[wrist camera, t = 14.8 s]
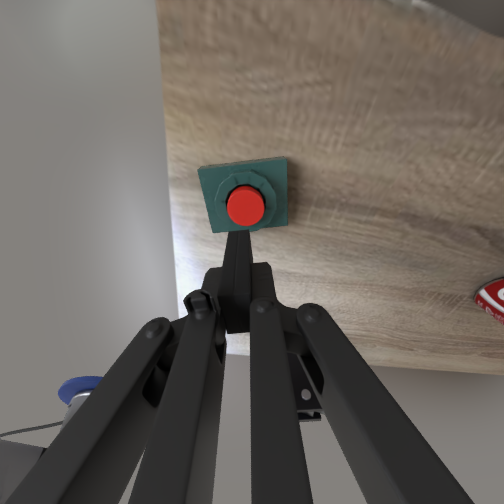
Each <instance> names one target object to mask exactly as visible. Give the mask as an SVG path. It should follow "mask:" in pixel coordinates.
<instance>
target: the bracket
mask: <svg viewBox="0 0 504 504" xmlns="http://www.w3.org/2000/svg"><path fill="white" fill-rule="evenodd" d="M287 356H288V362H289V367H290V373H291V379H292V384H293V390H294V396H295V402H296V407H297V413H298V419H299V422H309V421H321V415H320V413H319V412H317V411H323V409H322V407H321V405H320V403H319V401H318V399H317V396H316V394H315V392H314V390H313V388H312V386H311V384H310V382H309V380H308V378H307V375H306V373H305V371H304V369H303V367H302V365H301V363H300V361H299V359H298V357H297V355H296V354H292V353H289V352H287ZM302 412H314V413H313V417H312V416H310V415H307V414H305V413H302Z"/></svg>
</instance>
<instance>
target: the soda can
mask: <svg viewBox="0 0 504 504" xmlns="http://www.w3.org/2000/svg"><path fill="white" fill-rule="evenodd" d="M474 302H475V303H476V304H477V305H478V306H480V307H481V308H482V309H484V310H485V311H486V312H487V313H489V314H490V315H491V316H493V317H494V318H495V319H496V320H498V321H499V322H500V323H501V324H503V325H504V278H502V279H497V280H493V281H491V282H488V283H486V284H485V285H483V286H482V287H481V288H480V289H479V290H478V291H477V293H476V294H475V296H474Z"/></svg>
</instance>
